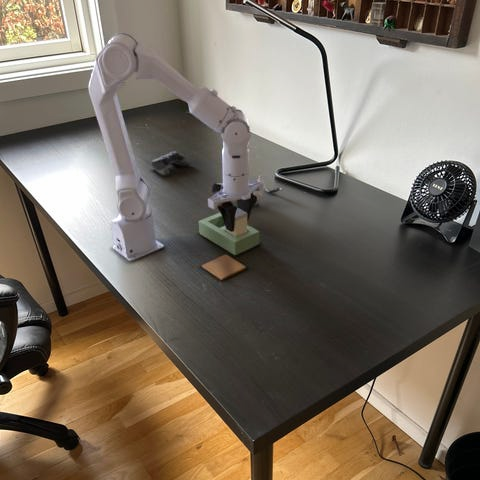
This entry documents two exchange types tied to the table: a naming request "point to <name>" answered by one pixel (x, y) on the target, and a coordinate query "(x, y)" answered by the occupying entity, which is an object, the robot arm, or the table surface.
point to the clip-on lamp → (219, 186)
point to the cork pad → (223, 267)
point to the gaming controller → (168, 162)
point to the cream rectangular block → (239, 223)
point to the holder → (227, 235)
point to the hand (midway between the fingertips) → (236, 227)
